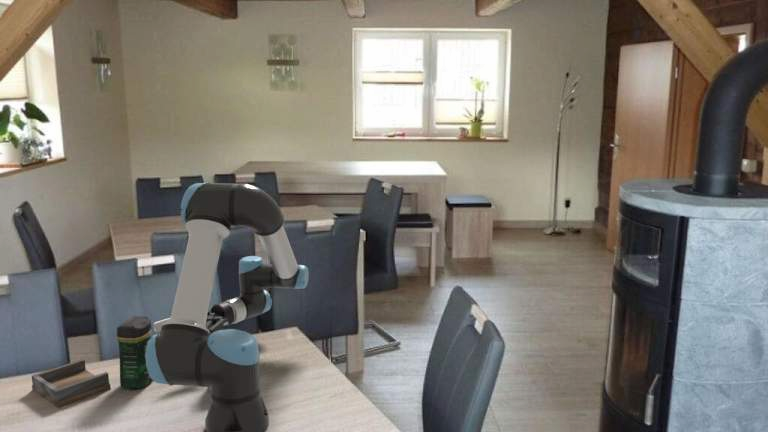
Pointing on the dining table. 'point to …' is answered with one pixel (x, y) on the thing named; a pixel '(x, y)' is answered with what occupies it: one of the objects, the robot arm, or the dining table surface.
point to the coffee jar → (134, 351)
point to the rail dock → (69, 384)
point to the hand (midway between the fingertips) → (167, 333)
